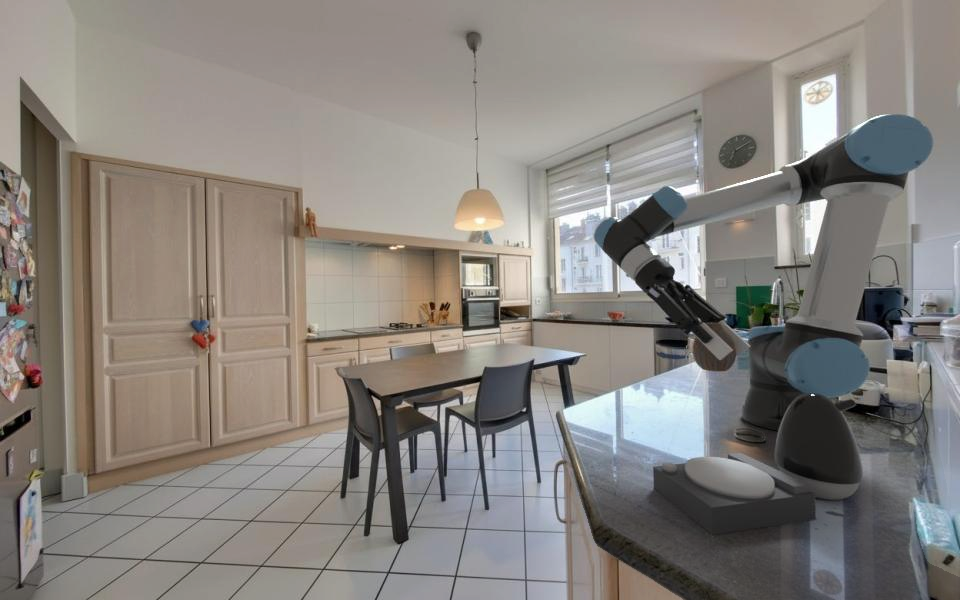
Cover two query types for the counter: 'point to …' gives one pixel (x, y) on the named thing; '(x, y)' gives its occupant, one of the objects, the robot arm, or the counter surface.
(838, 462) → the pump dispenser
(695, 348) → the vase
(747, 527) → the turntable with oval dome
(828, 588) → the counter surface
